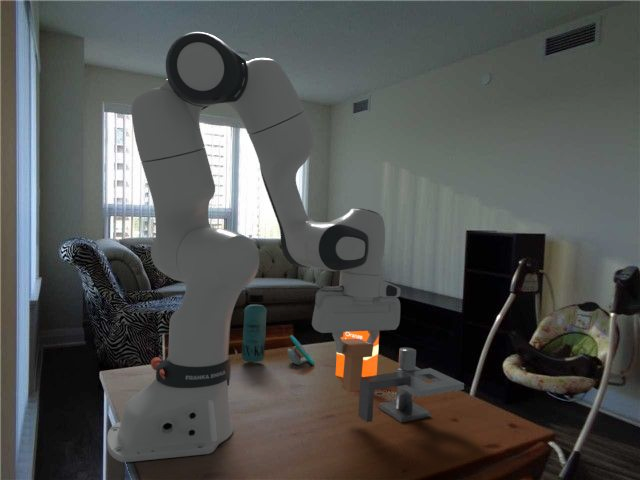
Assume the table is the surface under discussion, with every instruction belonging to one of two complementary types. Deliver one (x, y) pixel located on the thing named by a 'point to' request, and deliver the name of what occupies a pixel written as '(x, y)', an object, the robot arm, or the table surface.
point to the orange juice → (368, 362)
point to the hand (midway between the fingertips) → (354, 351)
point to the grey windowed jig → (404, 389)
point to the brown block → (354, 362)
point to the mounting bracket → (387, 395)
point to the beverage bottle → (254, 330)
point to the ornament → (298, 353)
